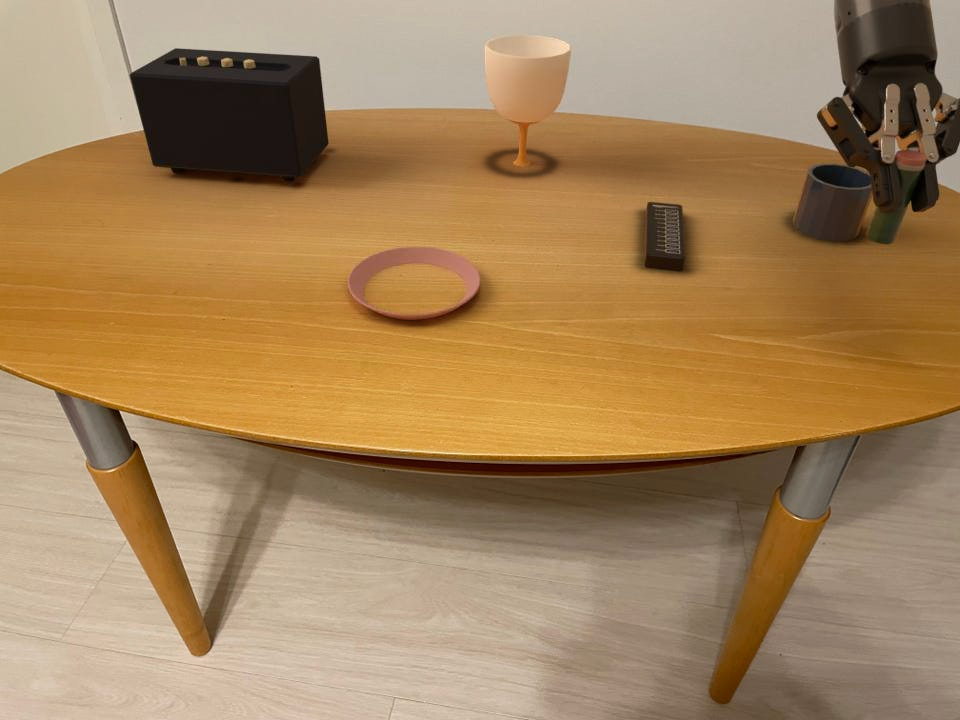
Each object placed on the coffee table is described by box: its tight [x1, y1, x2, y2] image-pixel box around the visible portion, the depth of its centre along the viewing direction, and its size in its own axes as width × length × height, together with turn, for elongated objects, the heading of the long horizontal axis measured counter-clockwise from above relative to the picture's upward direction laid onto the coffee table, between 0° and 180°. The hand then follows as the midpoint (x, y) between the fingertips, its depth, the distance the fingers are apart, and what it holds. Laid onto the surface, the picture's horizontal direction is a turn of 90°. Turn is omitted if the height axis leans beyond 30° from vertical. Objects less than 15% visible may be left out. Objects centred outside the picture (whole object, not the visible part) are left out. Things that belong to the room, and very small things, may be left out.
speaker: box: [129, 47, 330, 183], centre depth 104 cm, size 22×13×15 cm, turn 82°
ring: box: [347, 246, 482, 321], centre depth 81 cm, size 14×14×2 cm
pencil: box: [866, 149, 927, 245], centre depth 66 cm, size 2×2×8 cm
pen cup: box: [792, 163, 873, 243], centre depth 92 cm, size 8×8×8 cm
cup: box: [484, 34, 572, 168], centre depth 105 cm, size 12×12×17 cm
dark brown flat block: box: [643, 201, 686, 272], centre depth 90 cm, size 4×14×2 cm, turn 169°
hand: (908, 208), depth 64 cm, fingers closed on pencil, 2 cm apart
